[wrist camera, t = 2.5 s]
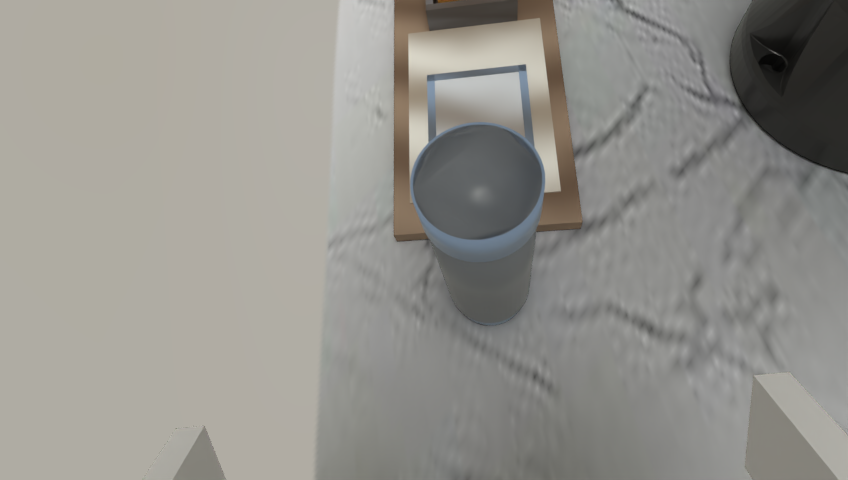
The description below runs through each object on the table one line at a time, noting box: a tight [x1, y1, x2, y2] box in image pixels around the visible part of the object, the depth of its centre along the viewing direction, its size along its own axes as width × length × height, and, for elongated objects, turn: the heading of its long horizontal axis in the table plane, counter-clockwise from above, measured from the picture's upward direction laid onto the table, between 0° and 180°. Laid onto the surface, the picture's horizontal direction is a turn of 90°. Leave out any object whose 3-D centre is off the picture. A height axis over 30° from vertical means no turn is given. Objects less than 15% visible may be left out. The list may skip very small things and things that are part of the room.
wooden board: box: [394, 0, 582, 241], centre depth 35 cm, size 22×11×3 cm, turn 1°
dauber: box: [410, 122, 545, 325], centre depth 25 cm, size 5×5×14 cm
